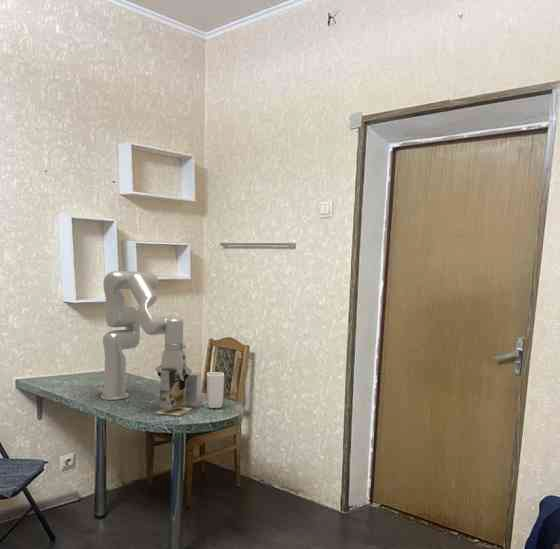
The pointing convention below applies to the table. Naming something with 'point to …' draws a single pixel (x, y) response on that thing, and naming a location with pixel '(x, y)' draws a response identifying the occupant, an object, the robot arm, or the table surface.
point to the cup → (215, 389)
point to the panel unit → (193, 391)
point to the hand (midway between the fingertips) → (173, 388)
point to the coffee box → (171, 389)
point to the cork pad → (173, 411)
